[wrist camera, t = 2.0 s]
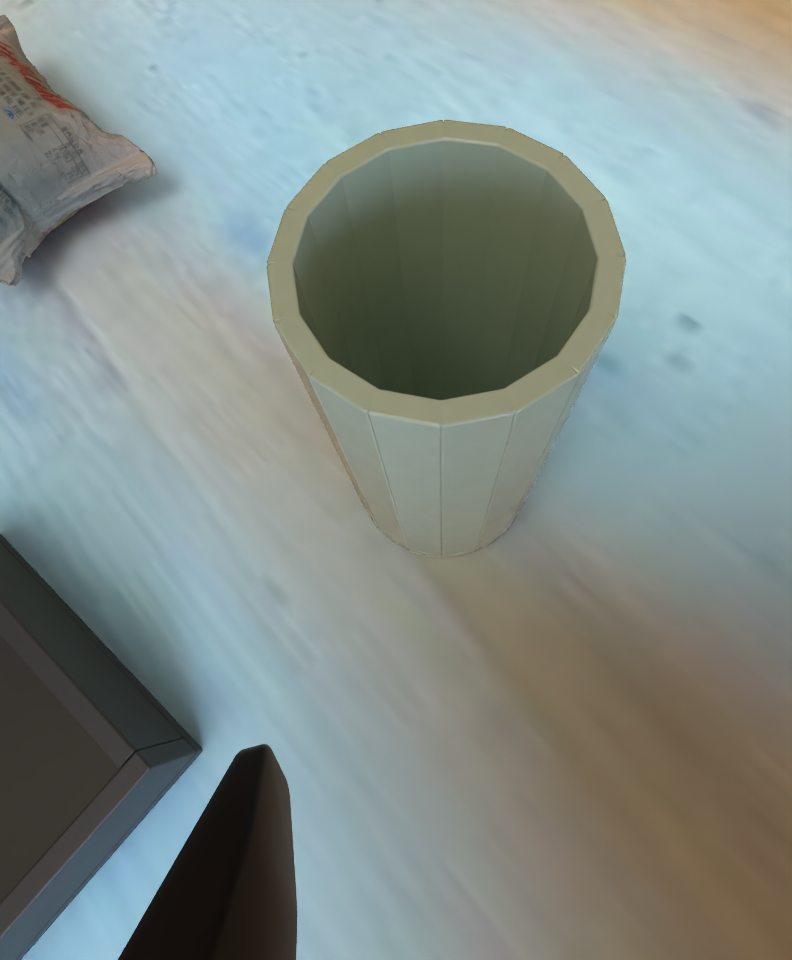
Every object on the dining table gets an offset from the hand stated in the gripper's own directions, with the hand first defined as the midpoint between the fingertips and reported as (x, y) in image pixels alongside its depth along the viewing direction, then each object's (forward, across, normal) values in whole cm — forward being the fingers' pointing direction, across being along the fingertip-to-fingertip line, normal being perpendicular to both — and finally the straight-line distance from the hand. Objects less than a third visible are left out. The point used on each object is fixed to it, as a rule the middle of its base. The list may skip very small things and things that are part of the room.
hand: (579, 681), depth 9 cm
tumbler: (+15, 0, +4) cm, 15 cm away
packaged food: (+28, +15, -10) cm, 33 cm away
